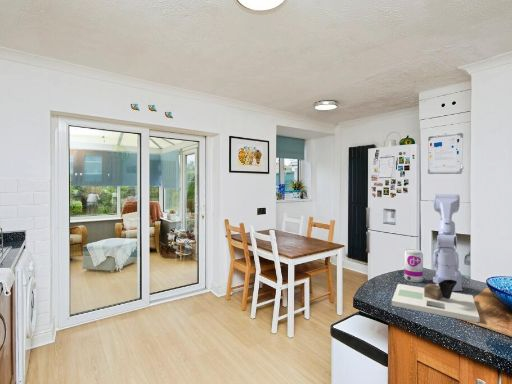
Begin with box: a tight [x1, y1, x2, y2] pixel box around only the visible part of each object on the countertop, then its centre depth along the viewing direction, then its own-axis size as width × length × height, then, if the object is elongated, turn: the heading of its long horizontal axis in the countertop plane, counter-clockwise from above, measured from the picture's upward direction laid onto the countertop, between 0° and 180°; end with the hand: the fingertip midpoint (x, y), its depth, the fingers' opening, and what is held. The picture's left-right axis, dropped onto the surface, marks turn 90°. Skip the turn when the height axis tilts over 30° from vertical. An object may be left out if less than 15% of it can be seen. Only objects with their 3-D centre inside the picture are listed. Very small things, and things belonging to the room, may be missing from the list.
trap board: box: [391, 283, 480, 323], centre depth 118 cm, size 28×23×2 cm
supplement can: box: [403, 248, 424, 283], centre depth 145 cm, size 8×8×15 cm
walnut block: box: [423, 283, 443, 301], centre depth 119 cm, size 5×5×4 cm
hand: (446, 297), depth 115 cm, fingers closed
